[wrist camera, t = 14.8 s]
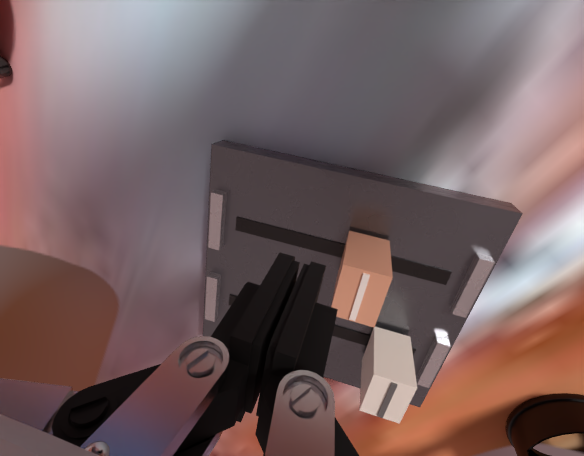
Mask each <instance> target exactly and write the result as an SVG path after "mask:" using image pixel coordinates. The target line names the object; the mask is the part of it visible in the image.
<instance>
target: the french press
mask: <svg viewBox="0 0 584 456" xmlns="http://www.w3.org/2000/svg"><path fill="white" fill-rule="evenodd" d="M506 433H507V436H508V439H509V441H510V443H511V444H512V446H513V447H514V448H515V451H516V453H517V456H550V455H546V454H543V453H541V452H539V451H537V450H535V449H533V447H534V446H535V445H537V444H539V443H540V442H542V441H544V440H547V439H549V438H552V437H556V436H560V435H565V434H574V433H584V396H583V395H577V394H552V395H546V396H541V397H537V398H534V399H531V400H529V401H527V402H525V403H523V404H521V405H520V406H518V407H517V408H516V409H514V411H513V412H512V413H511V414H510V415H509V417H508V419H507V423H506Z"/></svg>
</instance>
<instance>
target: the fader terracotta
mask: <svg viewBox="0 0 584 456" xmlns="http://www.w3.org/2000/svg"><path fill="white" fill-rule="evenodd" d="M392 278H393V275H392V263H391V251H390V241H389V240H385V239H381V238H377V237H373V236H369V235H365V234H361V233H357V232H353V231H349V233H348V237H347V241H346V244H345V248H344V252H343V256H342V259H341V263H340V267H339V270H338V274H337V279H336V284H335V289H334V294H333V299H332V303H331V307H332V308H336V309H338V311H337V316H336V317H339V318H343V319H346V320H350V321H353V322H357V323H360V324H363V325H367V326H370V327H375V325H376V322H377V319H378V316H379V314H380V311H381V308H382V305H383V303H384V300H385V297H386V294H387V292H388V289H389V286H390V284H391V281H392Z"/></svg>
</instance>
